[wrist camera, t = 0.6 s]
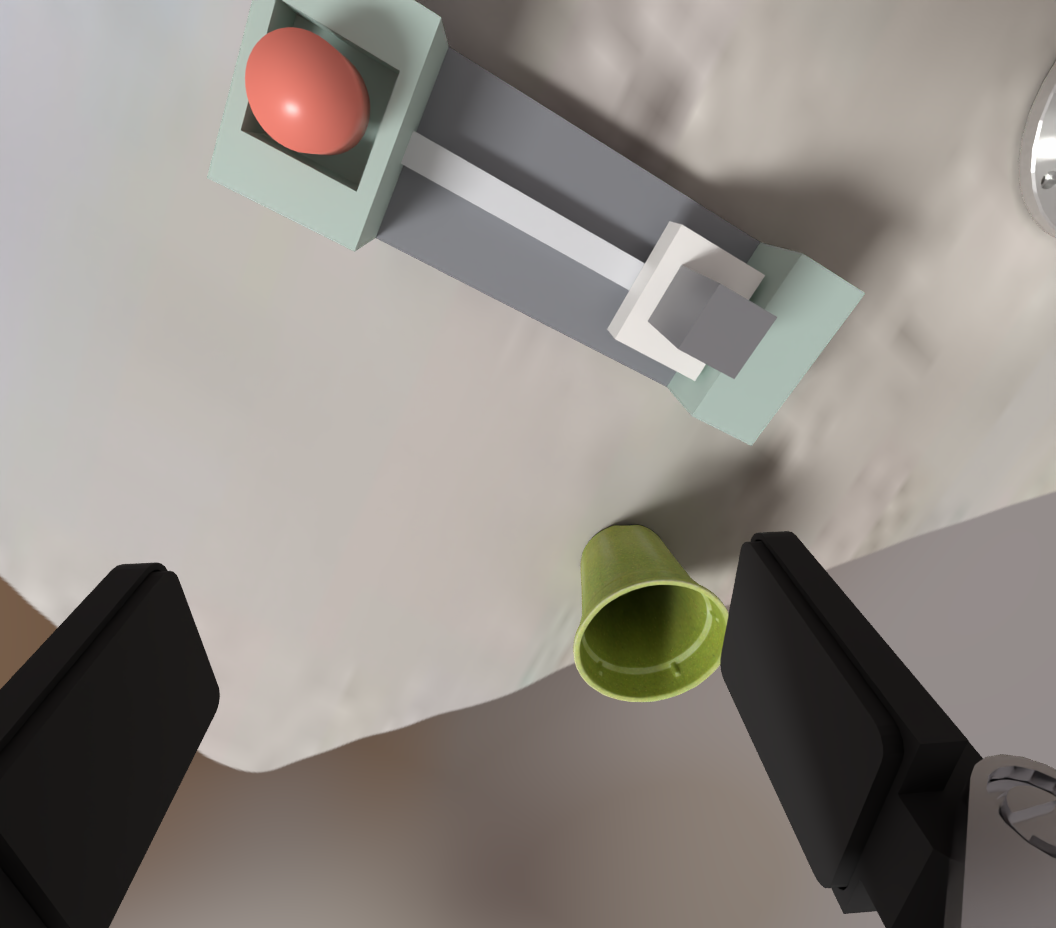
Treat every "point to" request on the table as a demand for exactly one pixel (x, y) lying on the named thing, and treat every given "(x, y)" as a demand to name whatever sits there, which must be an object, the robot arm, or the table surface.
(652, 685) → the plant pot
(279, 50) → the button
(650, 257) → the carriage
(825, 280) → the rail track
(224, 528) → the table surface
